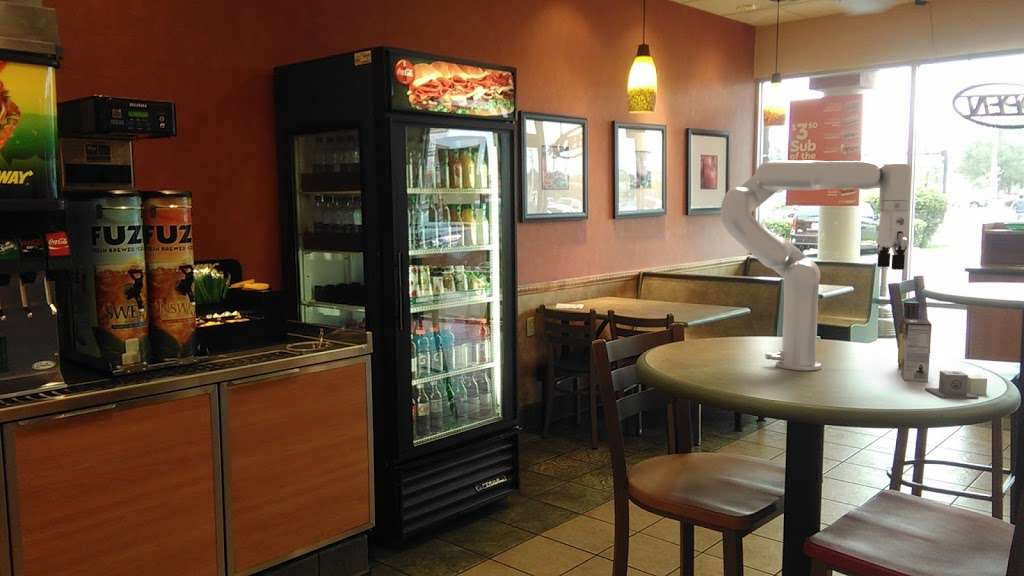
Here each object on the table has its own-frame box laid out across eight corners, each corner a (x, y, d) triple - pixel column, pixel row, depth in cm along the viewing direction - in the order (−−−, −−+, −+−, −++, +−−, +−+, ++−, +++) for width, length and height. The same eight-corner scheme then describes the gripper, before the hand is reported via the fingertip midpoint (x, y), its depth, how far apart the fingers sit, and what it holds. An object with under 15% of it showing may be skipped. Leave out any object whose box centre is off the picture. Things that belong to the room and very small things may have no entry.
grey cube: (966, 395, 200) (967, 375, 200) (945, 394, 201) (946, 374, 201) (959, 390, 205) (960, 371, 205) (938, 389, 206) (939, 370, 206)
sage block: (970, 393, 204) (971, 378, 204) (962, 390, 208) (963, 375, 208) (986, 394, 204) (987, 378, 204) (978, 390, 208) (979, 375, 208)
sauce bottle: (923, 371, 232) (927, 303, 230) (900, 370, 233) (904, 303, 231) (916, 367, 238) (920, 301, 237) (894, 366, 240) (897, 300, 238)
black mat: (941, 398, 199) (941, 396, 199) (924, 389, 208) (924, 388, 208) (978, 398, 199) (978, 396, 198) (960, 390, 207) (960, 388, 207)
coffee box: (899, 373, 229) (902, 318, 227) (924, 375, 226) (927, 319, 225) (903, 380, 220) (906, 322, 218) (929, 382, 218) (932, 323, 216)
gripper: (921, 207, 215) (917, 270, 217) (894, 207, 232) (891, 266, 234) (892, 207, 216) (889, 270, 217) (868, 207, 233) (865, 265, 234)
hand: (890, 268), depth 226 cm, fingers open, 9 cm apart
